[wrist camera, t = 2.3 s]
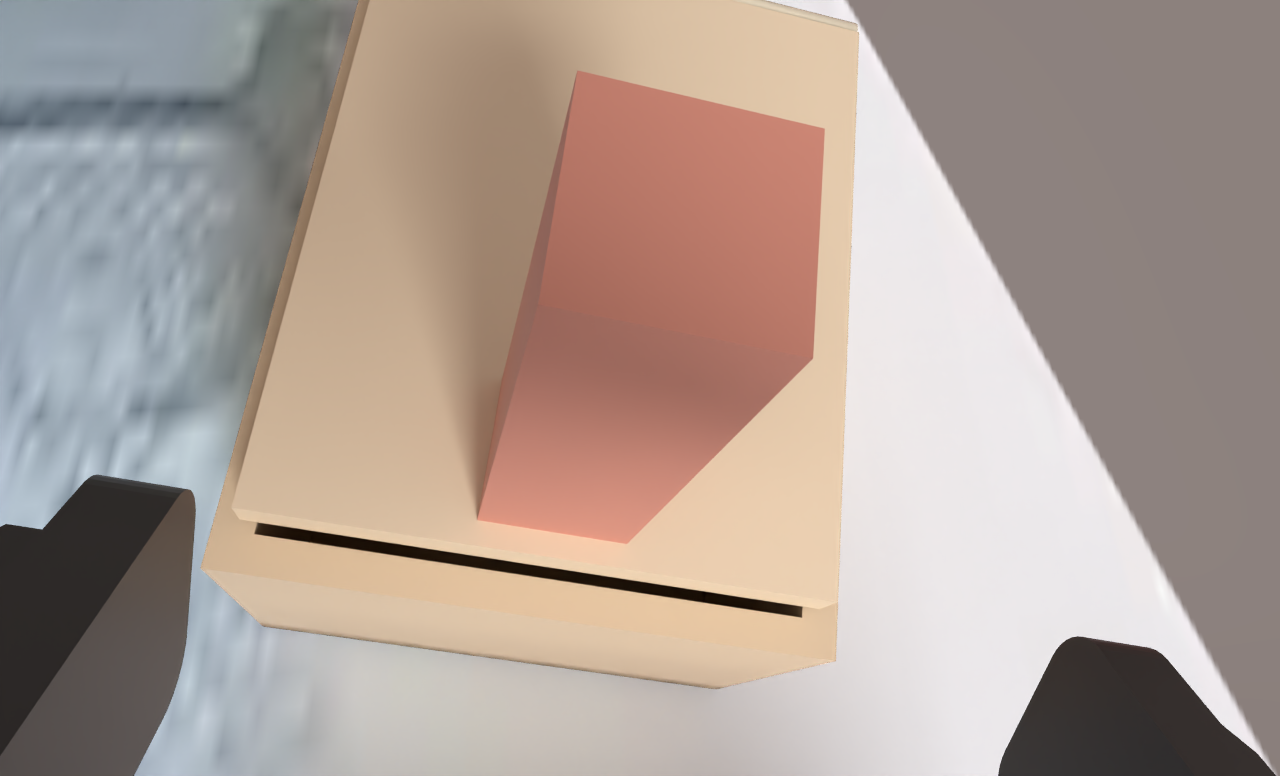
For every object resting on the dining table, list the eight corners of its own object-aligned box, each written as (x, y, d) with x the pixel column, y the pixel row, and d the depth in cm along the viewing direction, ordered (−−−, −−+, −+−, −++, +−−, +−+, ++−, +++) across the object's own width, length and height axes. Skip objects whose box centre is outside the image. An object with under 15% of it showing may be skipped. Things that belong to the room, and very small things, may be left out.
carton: (716, 689, 29) (835, 660, 21) (262, 626, 27) (200, 568, 19) (753, 223, 35) (857, 60, 27) (383, 143, 33) (375, -60, 25)
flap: (819, 608, 21) (1187, 472, 11) (239, 519, 19) (57, 259, 9) (844, 39, 27) (1102, -389, 17) (398, -73, 25) (391, -630, 15)
